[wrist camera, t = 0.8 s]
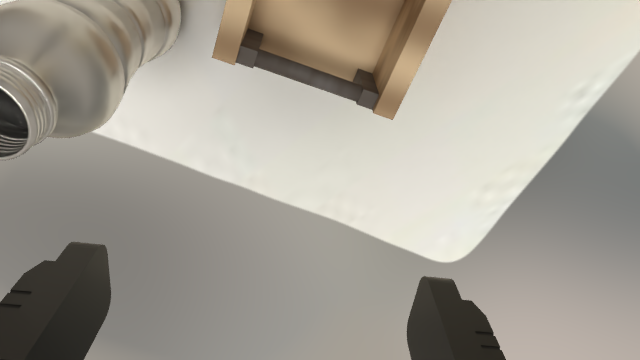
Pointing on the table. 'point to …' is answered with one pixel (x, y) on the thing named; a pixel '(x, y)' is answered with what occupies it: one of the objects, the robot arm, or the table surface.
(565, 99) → the table surface
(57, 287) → the robot arm
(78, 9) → the metal bottle
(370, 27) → the caddy
